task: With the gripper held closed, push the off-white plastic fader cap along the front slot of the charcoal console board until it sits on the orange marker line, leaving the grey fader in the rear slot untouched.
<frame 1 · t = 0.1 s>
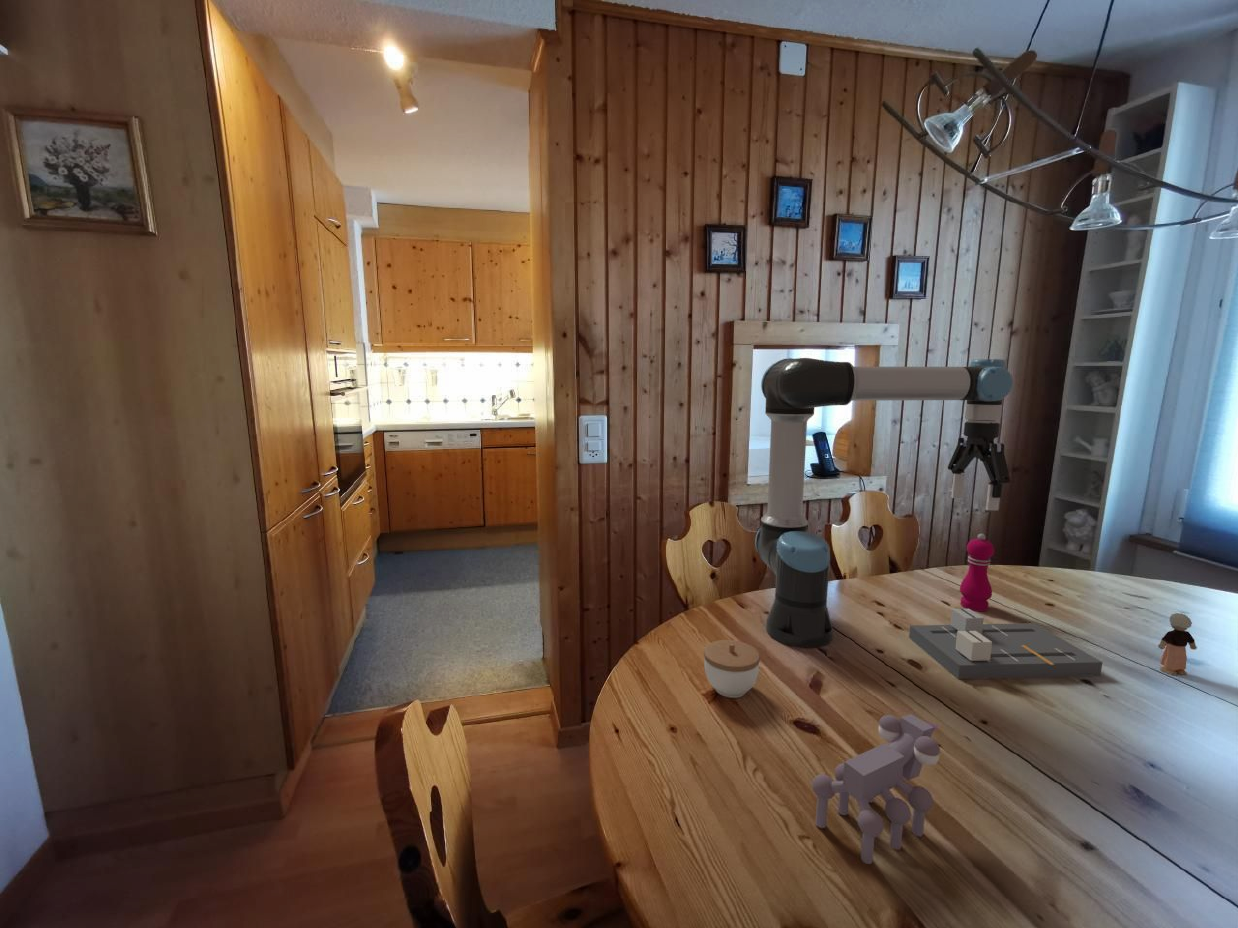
hand: (973, 503, 144), 28 cm above the table, fingers open, 13 cm apart
grandmother figurine: (1170, 672, 116), on the table
console: (998, 655, 123), on the table
pepper mill: (973, 607, 149), on the table
fader front: (973, 645, 116), point 5 cm above the table, slide at 0.0 cm
lidded jar: (730, 689, 110), on the table
fader rear: (966, 621, 127), point 5 cm above the table, slide at 6.0 cm
toy sheep: (885, 819, 78), on the table
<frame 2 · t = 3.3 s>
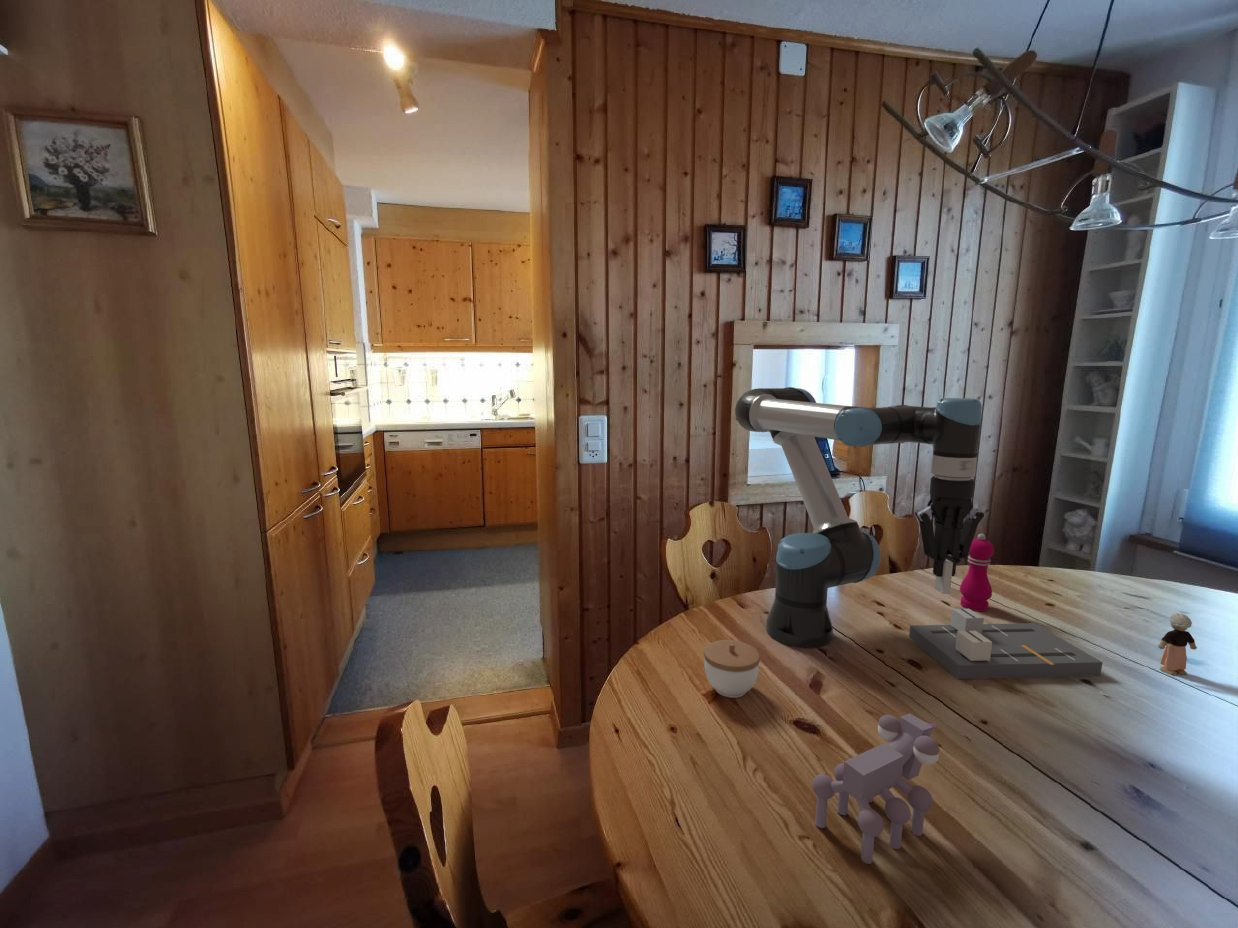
hand: (942, 590, 114), 18 cm above the table, fingers closed
nothing on the table moved.
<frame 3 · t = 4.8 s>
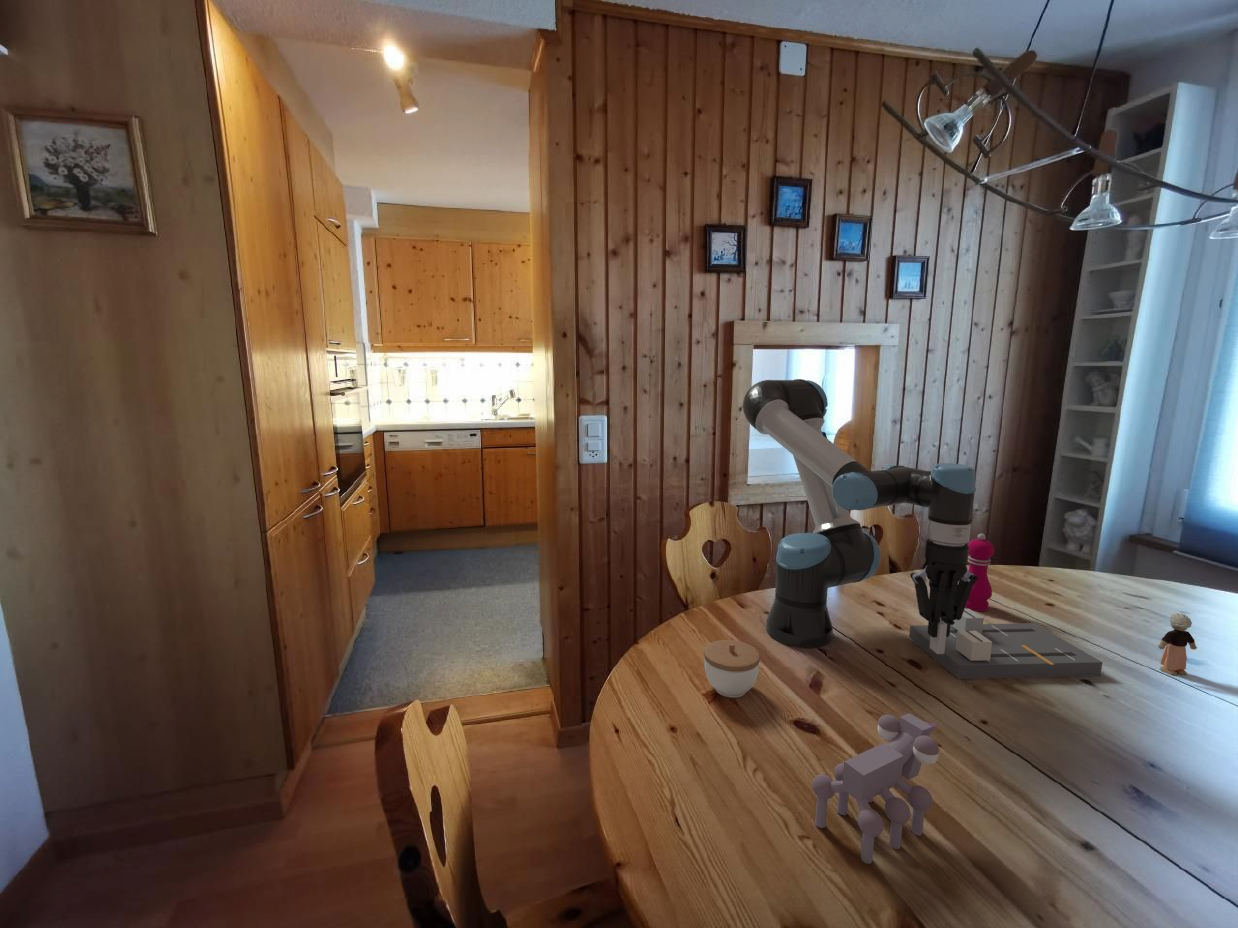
hand: (936, 650, 116), 4 cm above the table, fingers closed
nothing on the table moved.
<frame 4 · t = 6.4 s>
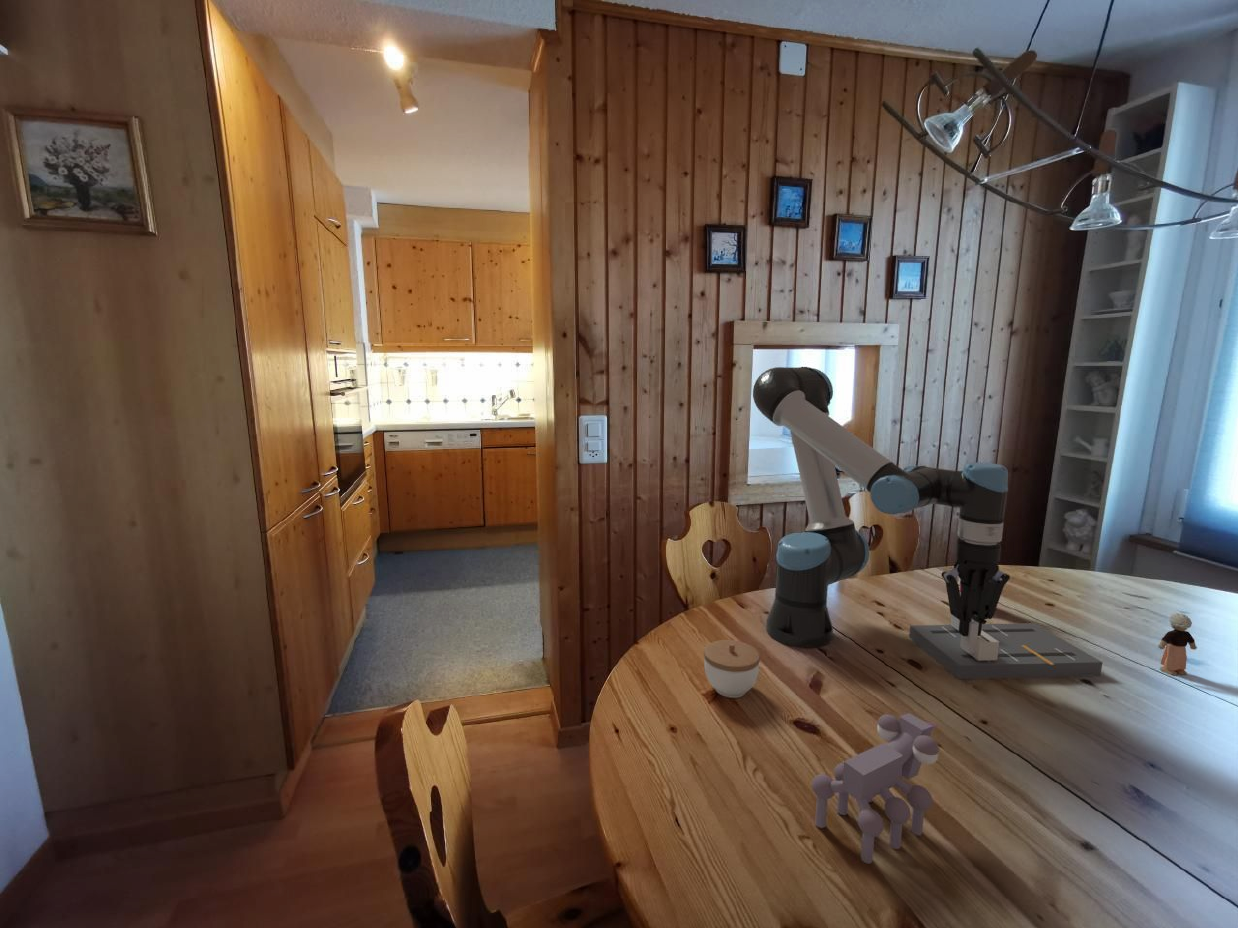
hand: (967, 649, 116), 5 cm above the table, fingers closed
fader front: (980, 644, 116), point 5 cm above the table, slide at 1.5 cm, touching gripper
everything else where it was.
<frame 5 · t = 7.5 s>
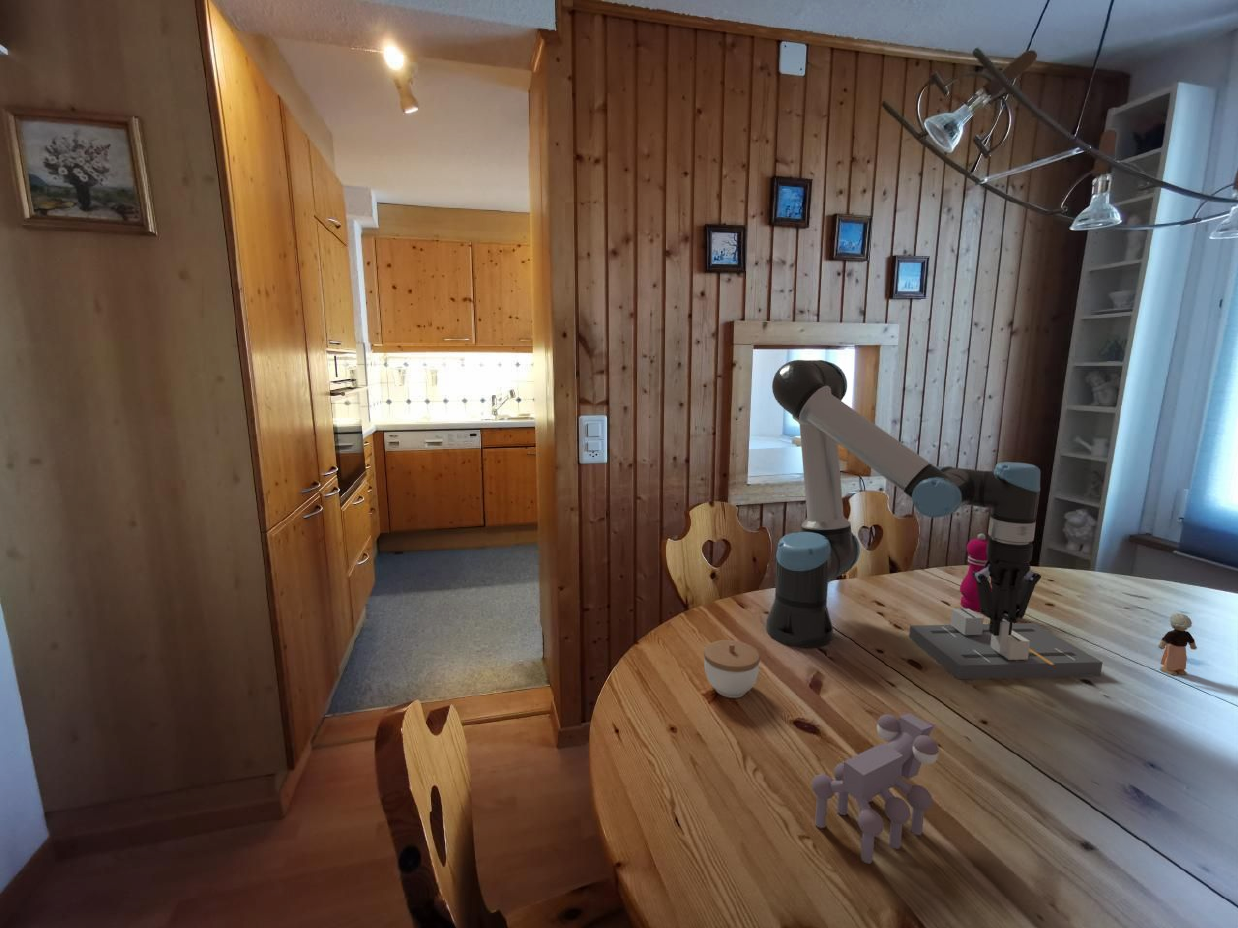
hand: (998, 648, 116), 5 cm above the table, fingers closed
fader front: (1010, 644, 117), point 5 cm above the table, slide at 8.0 cm, touching gripper
everything else where it was.
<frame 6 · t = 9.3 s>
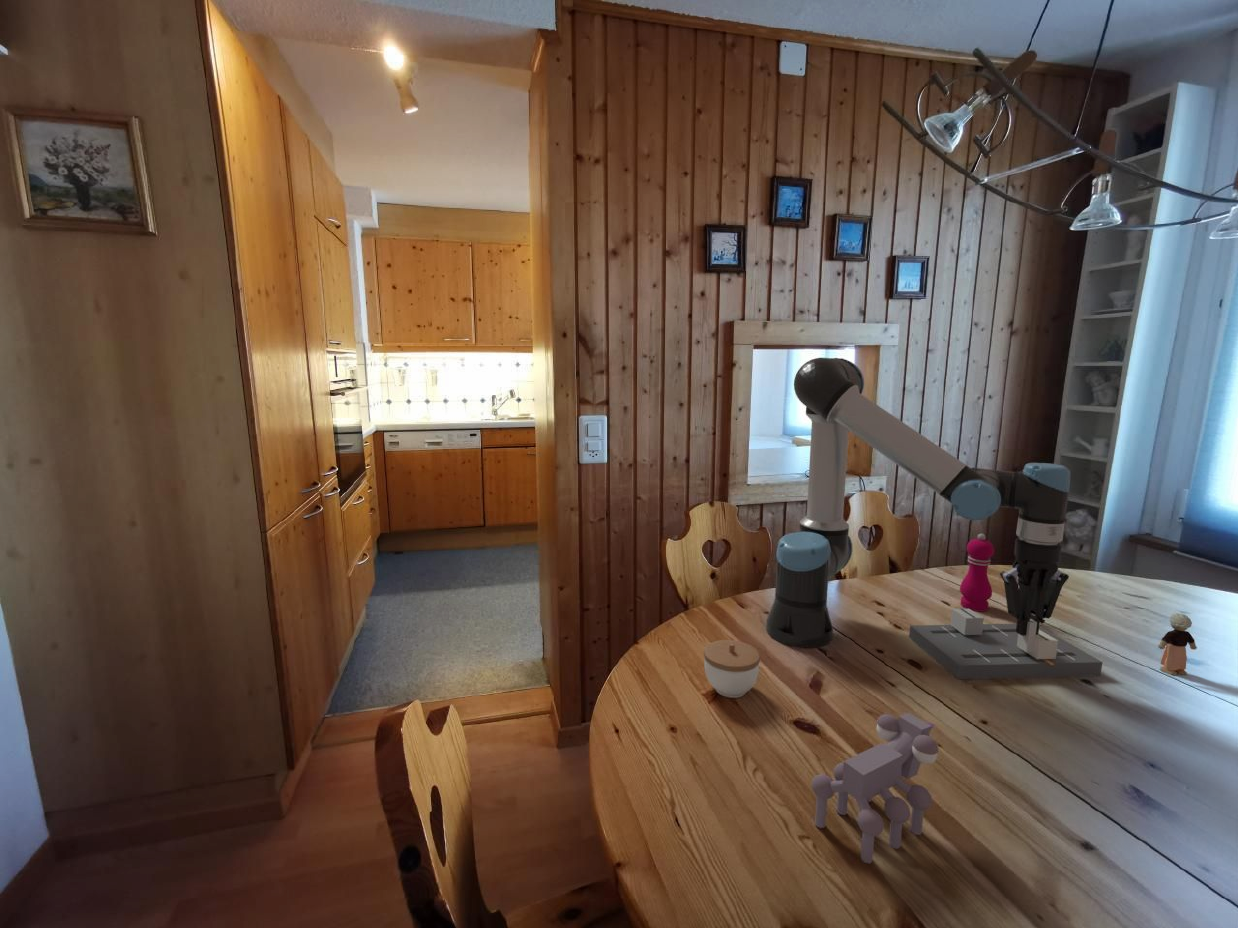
hand: (1024, 648, 117), 4 cm above the table, fingers closed
fader front: (1038, 643, 117), point 5 cm above the table, slide at 13.9 cm, touching gripper
everything else where it was.
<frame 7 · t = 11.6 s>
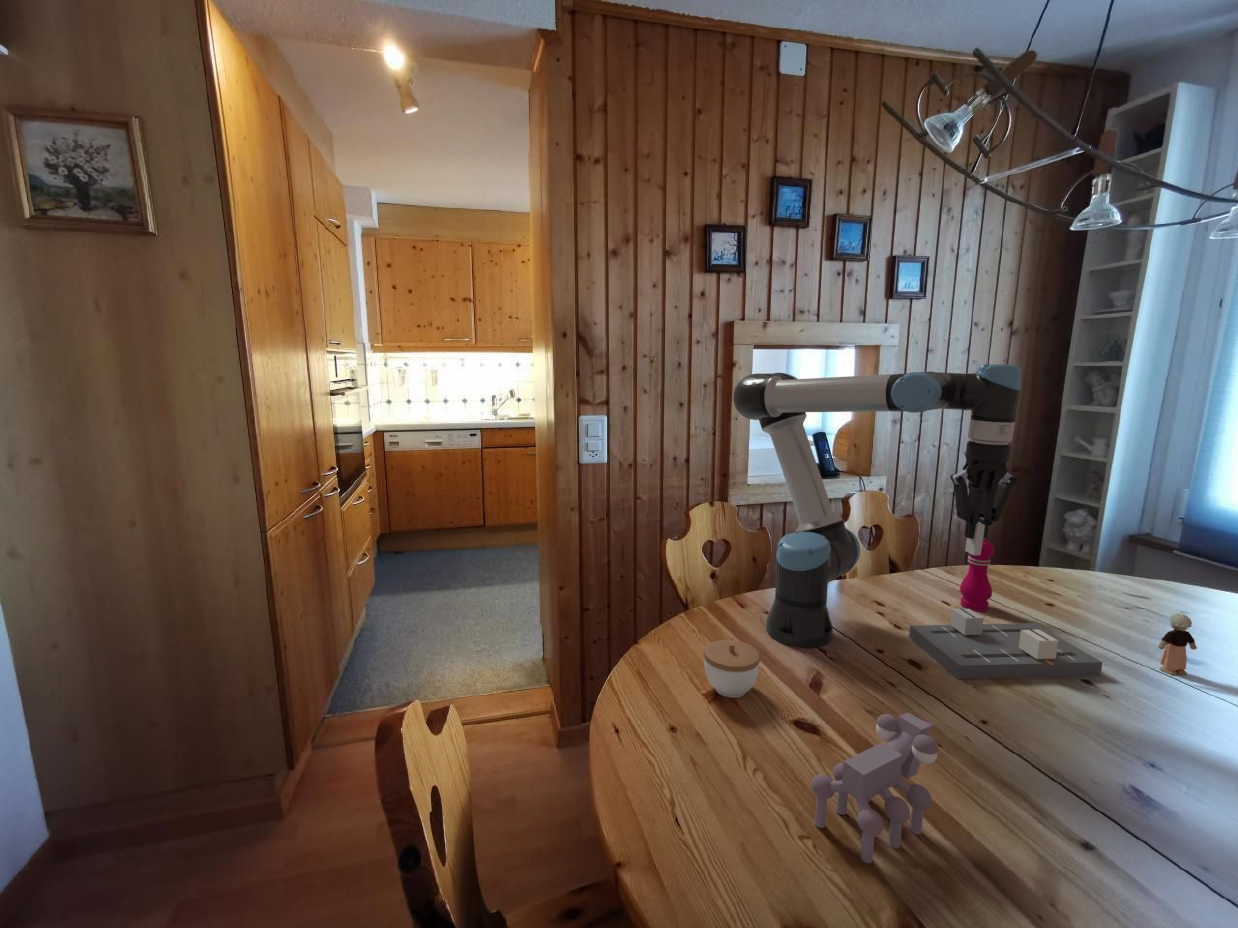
hand: (972, 552, 117), 24 cm above the table, fingers closed
fader front: (1038, 643, 117), point 5 cm above the table, slide at 13.9 cm
everything else where it was.
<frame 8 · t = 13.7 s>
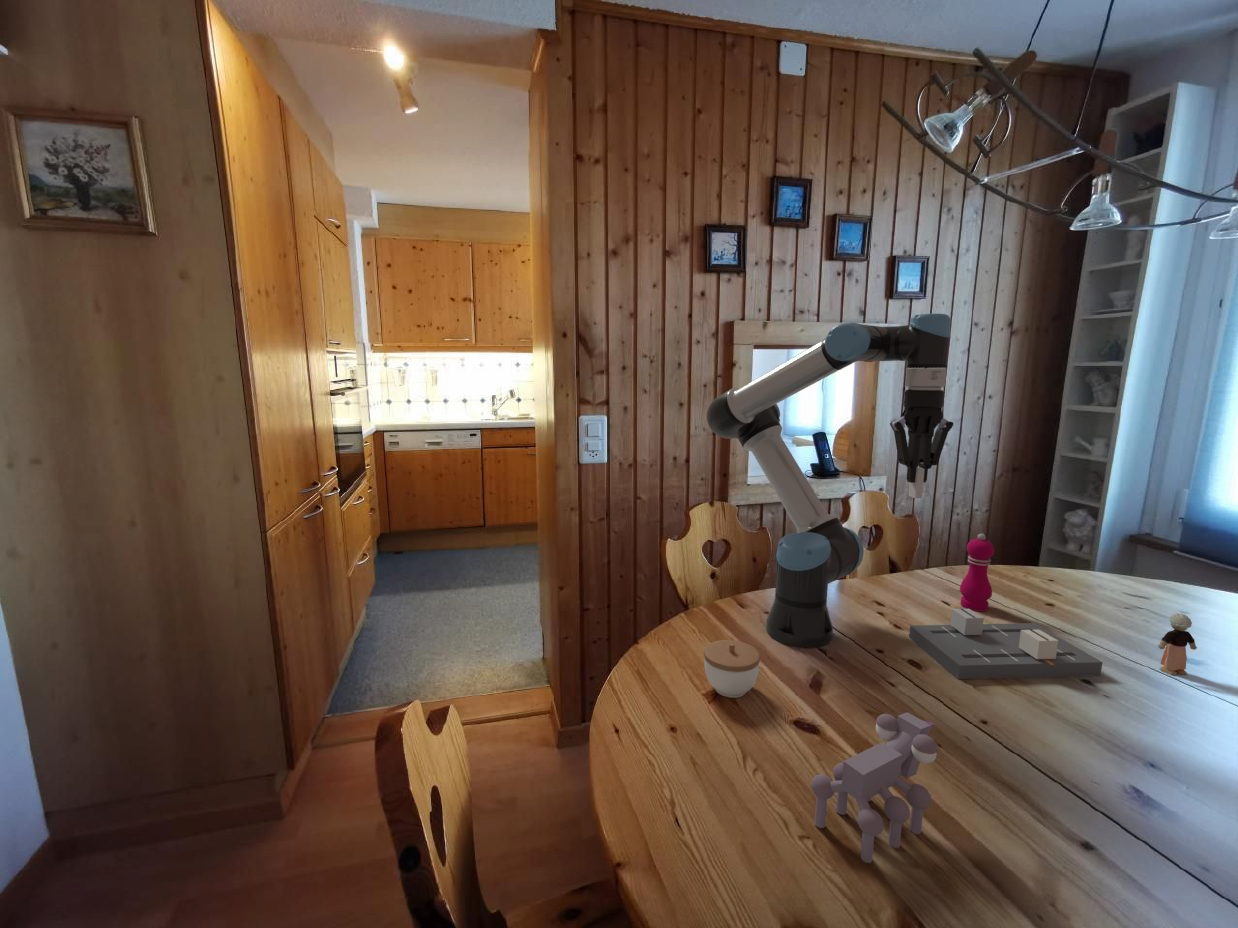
hand: (915, 496, 123), 34 cm above the table, fingers closed
nothing on the table moved.
at the end: fader front slide at 13.9 cm; fader rear slide at 6.0 cm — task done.
